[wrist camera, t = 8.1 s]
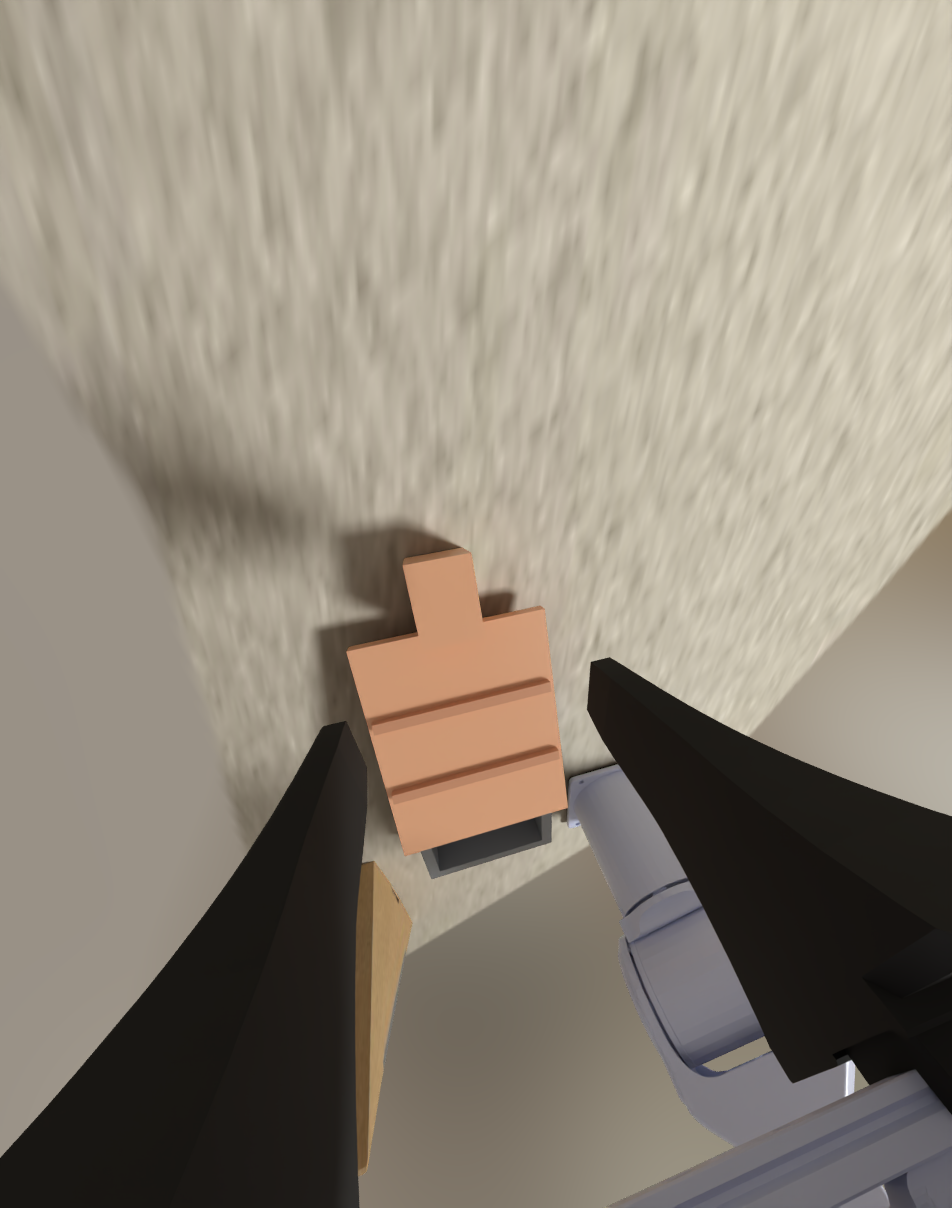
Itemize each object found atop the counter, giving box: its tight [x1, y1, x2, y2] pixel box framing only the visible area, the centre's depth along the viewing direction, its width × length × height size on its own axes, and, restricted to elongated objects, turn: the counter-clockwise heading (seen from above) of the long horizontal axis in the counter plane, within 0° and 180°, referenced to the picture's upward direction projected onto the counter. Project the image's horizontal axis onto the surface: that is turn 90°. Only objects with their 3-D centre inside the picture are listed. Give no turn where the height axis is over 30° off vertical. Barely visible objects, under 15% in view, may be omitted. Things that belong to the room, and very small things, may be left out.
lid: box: [346, 548, 568, 856], centre depth 19 cm, size 11×18×3 cm, turn 7°
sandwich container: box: [355, 861, 412, 1176], centre depth 28 cm, size 9×15×15 cm, turn 8°
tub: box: [421, 813, 552, 879], centre depth 26 cm, size 10×13×4 cm
